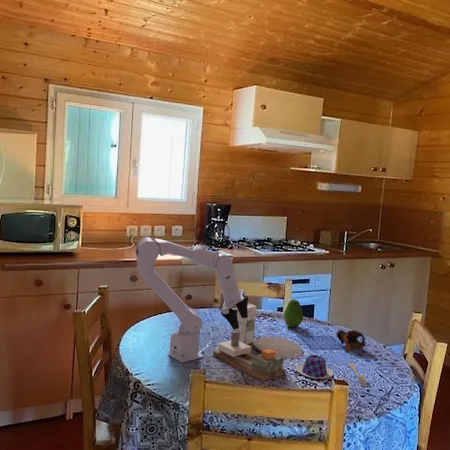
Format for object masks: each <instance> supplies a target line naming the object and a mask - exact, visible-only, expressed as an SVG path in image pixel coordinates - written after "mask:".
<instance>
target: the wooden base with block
mask: <svg viewBox="0 0 450 450" xmlns="http://www.w3.org/2000/svg"><path fill="white" fill-rule="evenodd" d="M261 355H262V353H259V354H257V355H255V354H253V353H251V352H250V353H246V354H242V355H239V356H235V357H233V356H231V355H229V354H227V353H225V352H223V351H221V350H219V349H217V350H213V352H212V356H214V357H216V358H217V359H220V360H222V361H224V363H227V364H229V365H231V366H233V367H235V368H237V369H239V370H240V371H243V372H245V373H247V374H249V375H250V376H253V377H254V378H256V379H258V380H260V381H261V382H262V381H263V382H267V381H269V380H271V379H274V378H278V377H281V376H283V375H286V368H283V367H284V357H283V356H281V355H278V354H276V353H275V359H271V360H267V359H264V358H262V357H261Z"/></svg>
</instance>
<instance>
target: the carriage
mask: <svg viewBox="0 0 450 450" xmlns="http://www.w3.org/2000/svg"><path fill="white" fill-rule="evenodd" d="M239 337H240V332H239V331H233V330H232V331H231V337H230V340H227V341H226V340H225V341H223V342H219V343H217V350H221V351H223V352H225V353H227V354H229V355H231V356H233V357H235V356H239V355H242V354H246V353H251V352H252V346H251V345H250V344H248V345H246V344H244V343H242V342H240V341H239Z"/></svg>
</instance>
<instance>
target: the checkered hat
mask: <svg viewBox="0 0 450 450" xmlns="http://www.w3.org/2000/svg"><path fill="white" fill-rule="evenodd" d="M295 369H296V371H297V372H298V374H301V375H303V376H306V377H308V378H312V379H322V380H323V379H328V378H332V377H333V375H334V372H333V370H331V369H330V368H329V367H327V363H326V360H325V358H324V357H323V356H320V355H319V354H310V355H307V356H306V358H305V361H304V363H301V364H298V365H296V368H295Z"/></svg>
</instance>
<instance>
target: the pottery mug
mask: <svg viewBox="0 0 450 450" xmlns="http://www.w3.org/2000/svg"><path fill="white" fill-rule="evenodd" d="M336 338H337V339H338V341H340V344H341V345H343V344H345V347H344V351H345V352H346V353H348V352H350V351H352V352H354V351H360V350H361V349H363V348H364V347H367V345H366V338H365V335H364V334H363V333H362V332H360V331H358V330H354V329H350V330H348V331H345V330H342V329H339V330H338V331H337V332H336ZM359 338H362V339H361V341H360V340H358V339H359Z"/></svg>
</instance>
